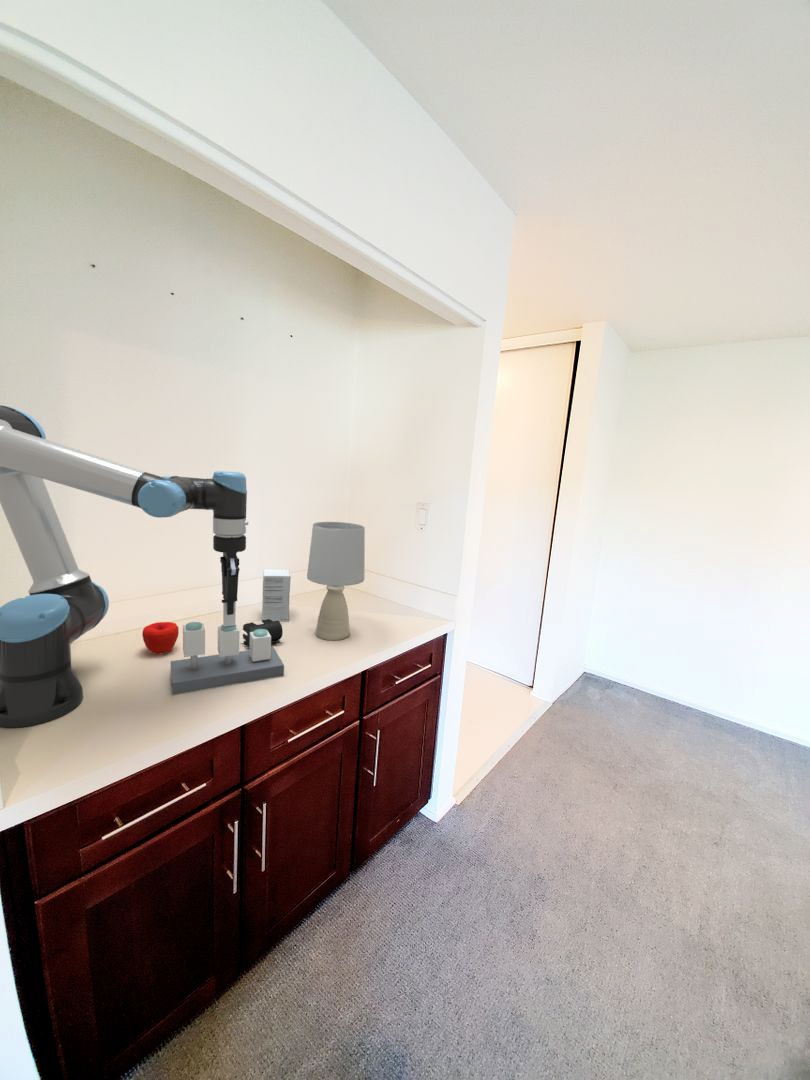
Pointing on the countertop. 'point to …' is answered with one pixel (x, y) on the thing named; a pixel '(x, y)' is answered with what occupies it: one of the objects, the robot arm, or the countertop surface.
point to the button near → (193, 639)
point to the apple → (160, 637)
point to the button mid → (228, 640)
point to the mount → (222, 671)
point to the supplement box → (276, 594)
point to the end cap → (271, 626)
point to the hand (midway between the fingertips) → (229, 624)
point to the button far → (260, 645)
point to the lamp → (336, 572)
